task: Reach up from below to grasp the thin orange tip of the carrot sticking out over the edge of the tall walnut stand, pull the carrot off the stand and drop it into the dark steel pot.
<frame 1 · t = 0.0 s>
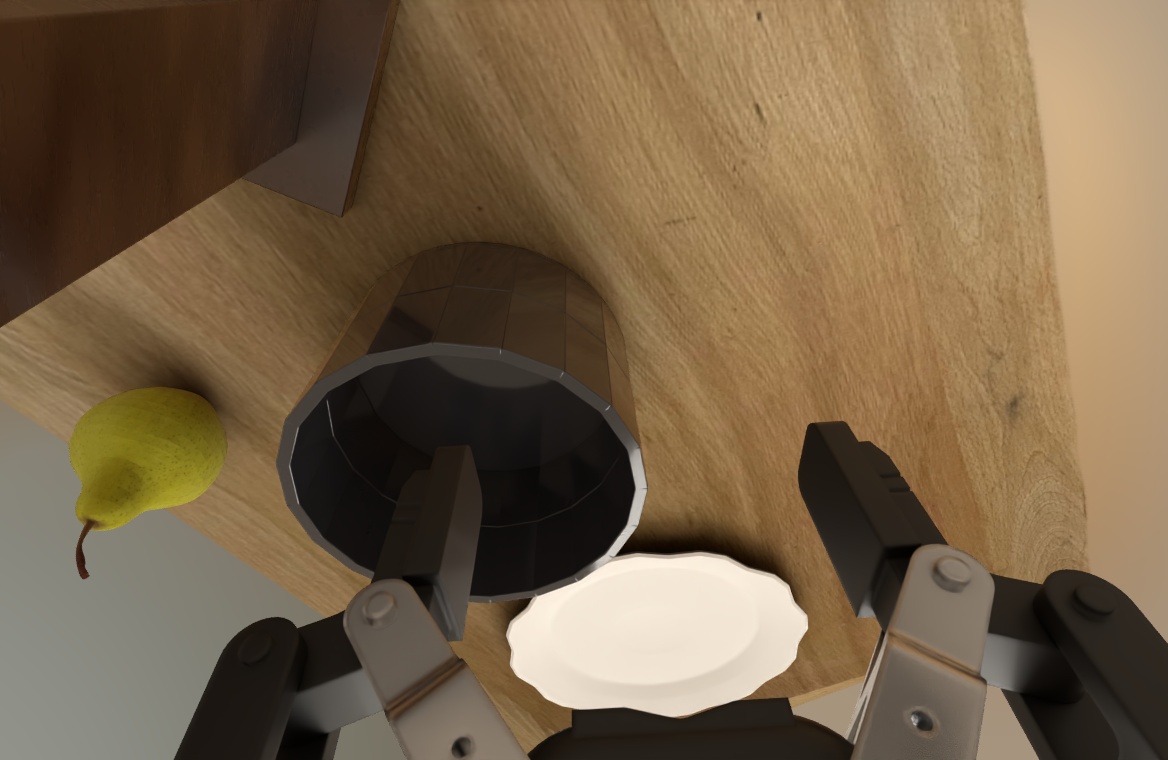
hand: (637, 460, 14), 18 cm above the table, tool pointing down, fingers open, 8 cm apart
stand: (246, 35, 24), on the table
pot: (490, 371, 34), on the table
fruit: (189, 405, 35), on the table
plate: (652, 625, 50), on the table
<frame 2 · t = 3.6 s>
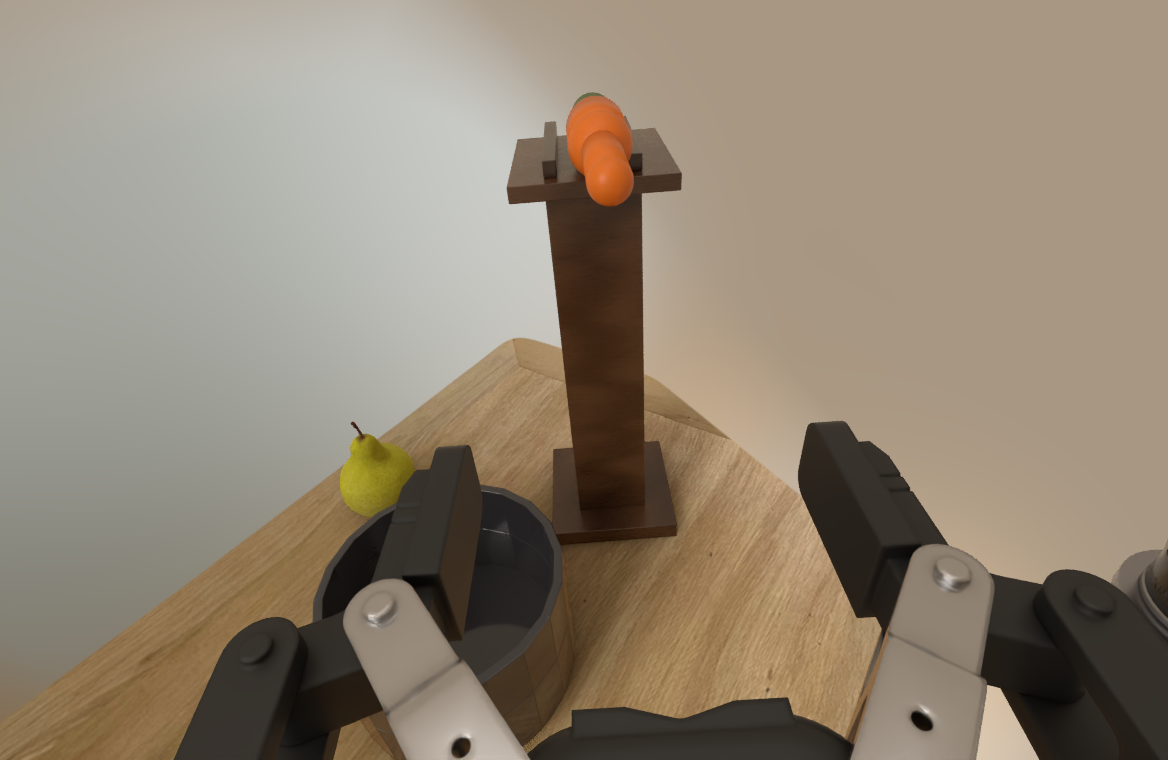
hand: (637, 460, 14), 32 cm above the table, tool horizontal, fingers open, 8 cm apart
stand: (610, 494, 56), on the table
carrot: (593, 175, 33), point 32 cm above the table, tilted 14°, touching stand
pot: (469, 653, 44), on the table
fruit: (389, 505, 57), on the table
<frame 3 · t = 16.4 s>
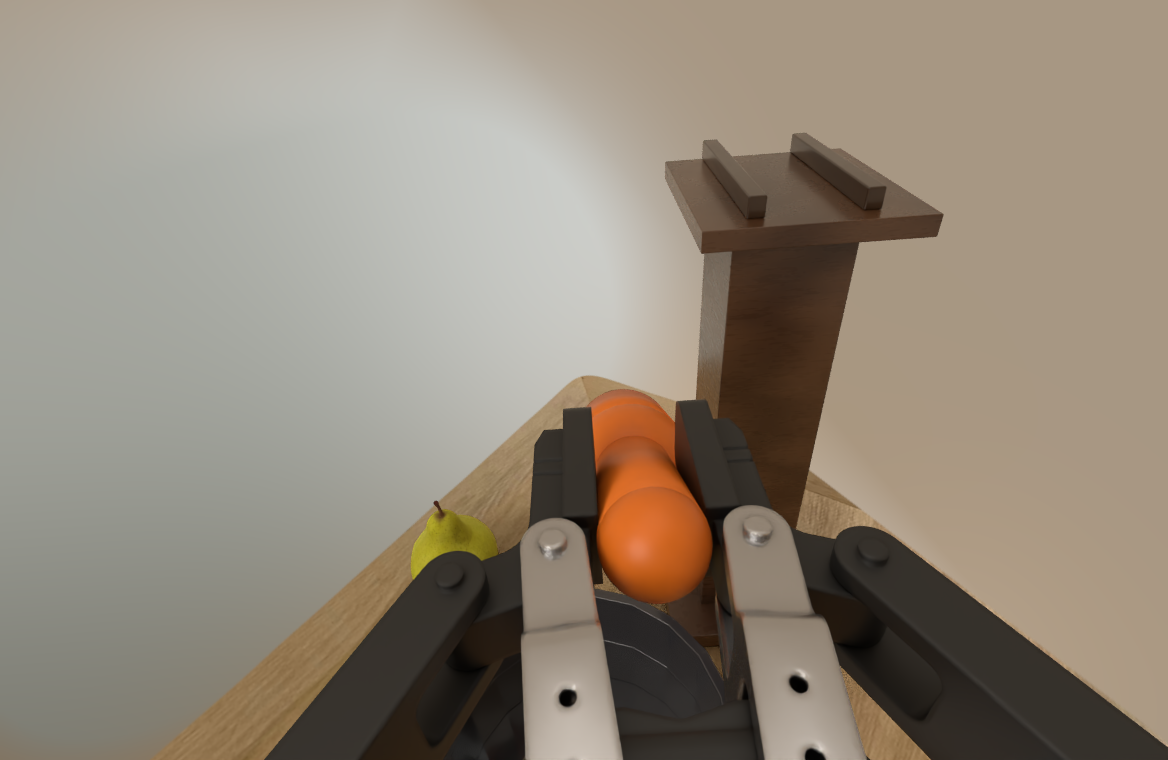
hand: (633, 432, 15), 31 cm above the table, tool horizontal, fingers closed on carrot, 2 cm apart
stand: (729, 580, 47), on the table
carrot: (633, 514, 18), point 27 cm above the table, tilted 30°, touching gripper
fruit: (464, 587, 48), on the table
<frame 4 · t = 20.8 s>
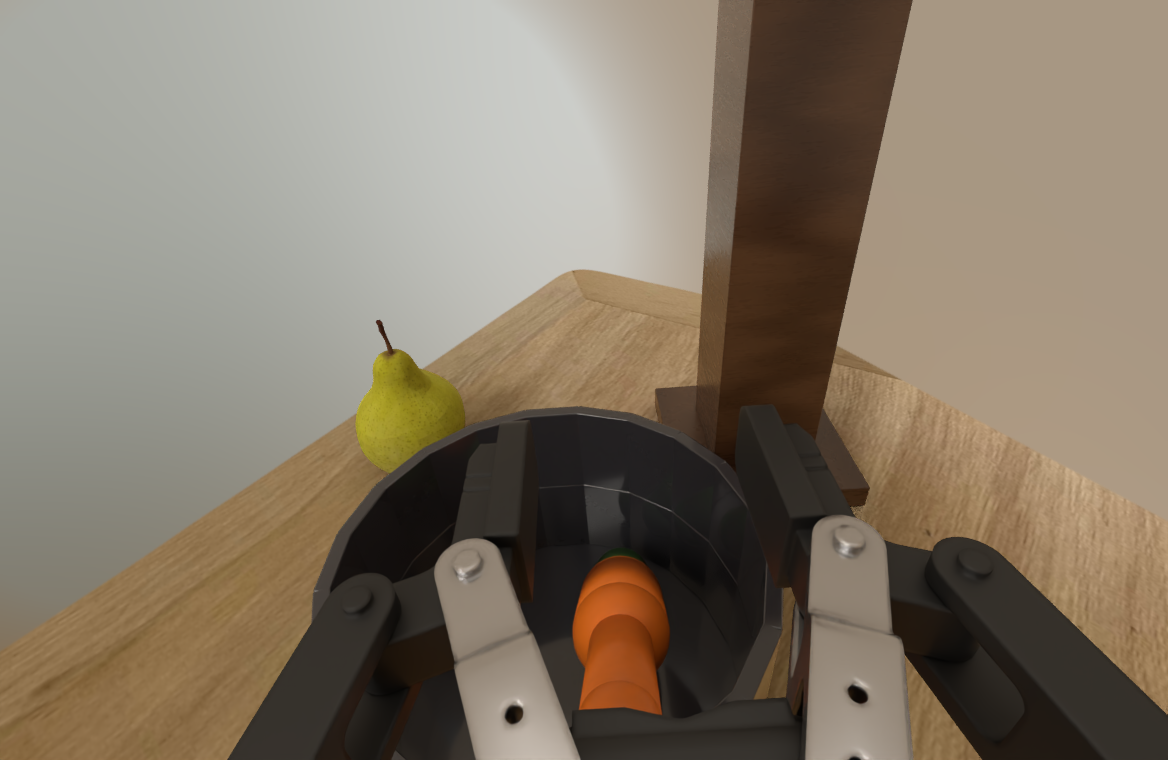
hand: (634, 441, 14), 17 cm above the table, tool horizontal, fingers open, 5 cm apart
stand: (747, 448, 38), on the table
carrot: (649, 667, 22), point 5 cm above the table, tilted 51°, touching pot
pot: (570, 686, 26), on the table
fruit: (425, 462, 40), on the table
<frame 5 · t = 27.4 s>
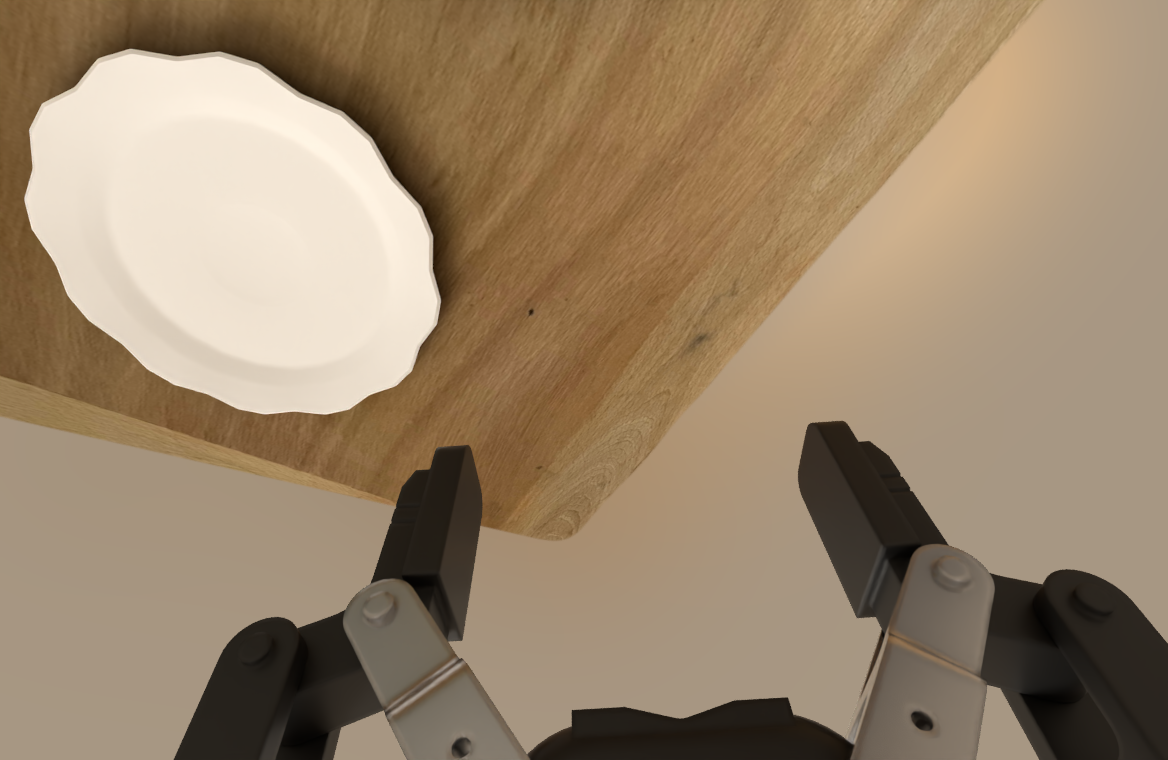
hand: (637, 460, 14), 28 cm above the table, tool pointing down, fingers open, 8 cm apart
plate: (259, 255, 40), on the table
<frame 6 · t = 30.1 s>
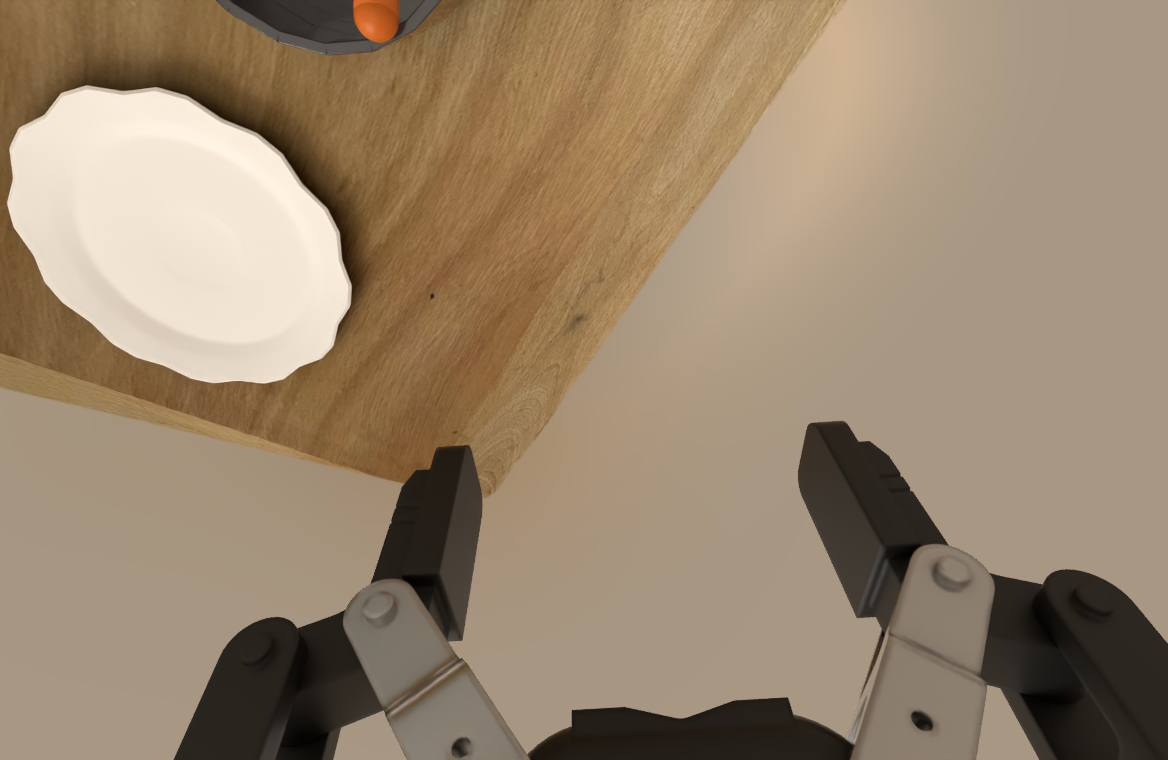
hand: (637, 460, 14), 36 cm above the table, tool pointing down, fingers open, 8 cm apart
plate: (201, 248, 48), on the table
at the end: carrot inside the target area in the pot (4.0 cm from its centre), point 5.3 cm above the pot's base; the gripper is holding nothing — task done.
